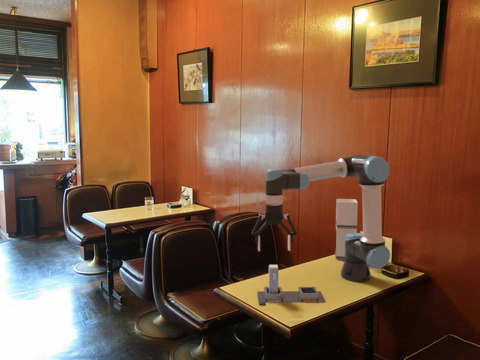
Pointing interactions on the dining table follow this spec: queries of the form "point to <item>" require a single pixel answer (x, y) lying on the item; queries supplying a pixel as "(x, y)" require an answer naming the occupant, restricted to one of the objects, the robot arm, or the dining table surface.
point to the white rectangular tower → (345, 223)
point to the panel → (290, 296)
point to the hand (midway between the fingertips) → (274, 250)
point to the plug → (273, 279)
